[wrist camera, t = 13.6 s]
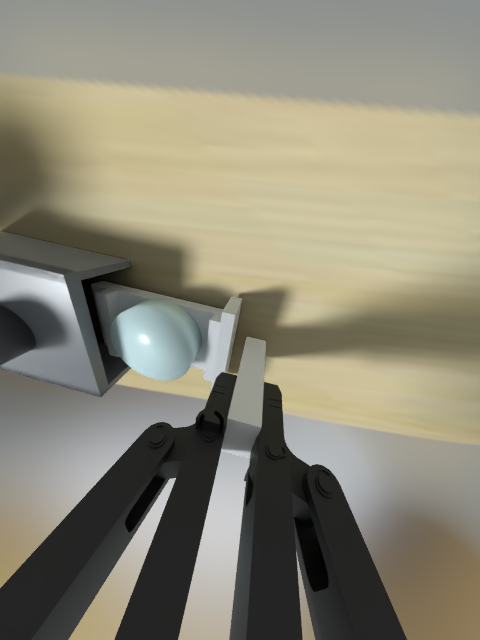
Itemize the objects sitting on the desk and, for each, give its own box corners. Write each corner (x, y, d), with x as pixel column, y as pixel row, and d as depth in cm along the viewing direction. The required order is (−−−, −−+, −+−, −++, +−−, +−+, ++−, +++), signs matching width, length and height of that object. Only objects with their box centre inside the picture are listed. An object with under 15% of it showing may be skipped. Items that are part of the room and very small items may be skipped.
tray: (116, 348, 17) (90, 368, 15) (99, 265, 13) (60, 273, 11) (226, 377, 16) (218, 402, 14) (242, 298, 13) (235, 315, 10)
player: (43, 332, 18) (-92, 392, 12) (-1, 230, 14) (-266, 232, 7) (141, 357, 18) (59, 437, 11) (130, 260, 13) (-24, 293, 6)
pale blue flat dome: (116, 306, 14) (93, 317, 12) (184, 290, 12) (168, 301, 10) (152, 366, 16) (137, 382, 14) (212, 359, 14) (203, 377, 13)
